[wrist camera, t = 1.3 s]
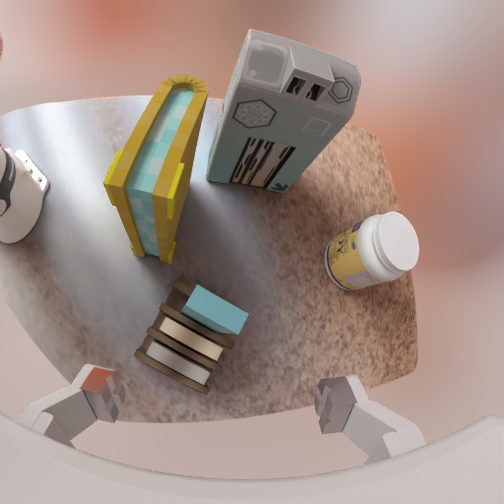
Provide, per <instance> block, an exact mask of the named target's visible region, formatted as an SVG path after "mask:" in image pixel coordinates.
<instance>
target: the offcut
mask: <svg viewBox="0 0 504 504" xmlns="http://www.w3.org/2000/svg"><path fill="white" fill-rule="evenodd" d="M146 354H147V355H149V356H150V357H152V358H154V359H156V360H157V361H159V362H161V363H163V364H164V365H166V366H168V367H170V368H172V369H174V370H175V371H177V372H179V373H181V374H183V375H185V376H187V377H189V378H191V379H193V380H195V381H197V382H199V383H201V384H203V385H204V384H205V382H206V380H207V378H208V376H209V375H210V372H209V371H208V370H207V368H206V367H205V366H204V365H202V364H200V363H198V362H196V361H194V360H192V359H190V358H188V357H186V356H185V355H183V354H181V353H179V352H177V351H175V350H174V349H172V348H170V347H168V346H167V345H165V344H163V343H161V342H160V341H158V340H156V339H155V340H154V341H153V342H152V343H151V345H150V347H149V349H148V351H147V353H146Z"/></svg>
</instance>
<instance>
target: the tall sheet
mask: <svg viewBox="0 0 504 504" xmlns="http://www.w3.org/2000/svg"><path fill="white" fill-rule="evenodd" d="M181 314H182V315H184V316H186V317H188V318H189V319H191V320H193V321H195V322H196V323H198V324H200V325H202V326H204V327H205V328H207V329H209V330H211V331H213V332H221V333H229V334H237V335H239V333H240V331H241V329H242V327H243V325H244V323H245V321H246V319H247V317H248V315H249V313H247V312H245V311H243V310H241V309H239V308H238V307H236V306H234V305H232V304H230V303H229V302H227V301H225V300H223V299H222V298H220V297H218V296H216V295H215V294H213V293H211V292H209V291H208V290H206V289H204V288H203V287H201V286H199V285H197V286H196V288H195V289H194V291H193V293H192V294H191V296H190V297H189V299H188V301H187V302H186V304H185V306H184V308H183V310H182V311H181Z"/></svg>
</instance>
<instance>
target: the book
mask: <svg viewBox="0 0 504 504" xmlns="http://www.w3.org/2000/svg"><path fill="white" fill-rule="evenodd" d="M207 96H208V87H207V85H206V84H205V83H204V82H203V81H202V80H200V79H198V78H196V77H192V76H187V75H180V76H174V77H171V78H168V79H166V80H165V81H163V82H162V83H161V85H160V86H159V88H158V90H157V91H156V93H155V94H154V96H153V97H152V99H151V101H150V102H149V104H148V106H147V107H146V109H145V111H144V112H143V114H142V116H141V118H140V119H139V121H138V123H137V125H136V127H135V129H134V130H133V132H132V134H131V136H130V138H129V140H128V142H127V144H126V146H125V148H124V150H118V152H117V154H116V156H115V158H114V160H113V163H112V165H111V167H110V169H109V171H108V173H107V176H106V178H105V180H104V182H103V184H104V187H105V188H106V191H107V194H108V196H109V199H110V201H111V203H112V205H113V206H116V207H117V210H118V212H119V215H120V217H121V220H122V222H123V225H124V227H125V229H126V232H127V234H128V236H129V239H130V241H131V243H132V244H131V248H132V250H133V252H134V255H137V256H141V257H145V254H146V253H148V254H152V255H156V256H160V261H161V262H165V263H169V264H171V262H172V258H173V254H174V250H175V246H176V241H174V239H175V235H176V231H177V228H178V224H179V221H180V217H181V213H182V210H183V207H184V203H185V200H186V196H187V193H188V190H189V184H190V178H191V172H192V167H193V161H194V156H195V151H196V146H197V141H198V136H199V131H200V127H201V122H202V118H203V113H204V109H205V105H206V100H207Z"/></svg>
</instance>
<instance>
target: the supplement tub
mask: <svg viewBox="0 0 504 504" xmlns="http://www.w3.org/2000/svg"><path fill="white" fill-rule="evenodd" d="M418 256H419V243H418V239H417V235H416V233H415V230H414V228H413V226H412V225H411V223H410V222H409V221H408V220H407V219H406V218H405V217H404V216H403V215H401V214H400V213H397V212H388V213H386V214H383V215H373V216H370V217H368V218H367V219H365V220H363V221H362V222H360V223H358V224H356V225H355V226H353V227H351V228H349V229H348V230H346V231H344V232H342V233H341V234H339V235H337V236H335V237H334V238H333V239H332V240H331V241H330V242H329V243H328V245H327V247H326V250H325V256H324V261H325V267H326V271H327V273H328V275H329V277H330V278H331V280H332V281H333V282H334V283H335V284H336V285H337V286H339V287H341V288H343V289H345V290H357V289H361V288H365V287H369V286H373V285H377V284H381V283H385V282H389V281H393V280H395V279H397V278H399V277H400V276H401V275H402V274H403V273H404V272H406V271H408V270H410V269H412V268H413V267H414V266H415V264H416V263H417V260H418Z"/></svg>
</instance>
